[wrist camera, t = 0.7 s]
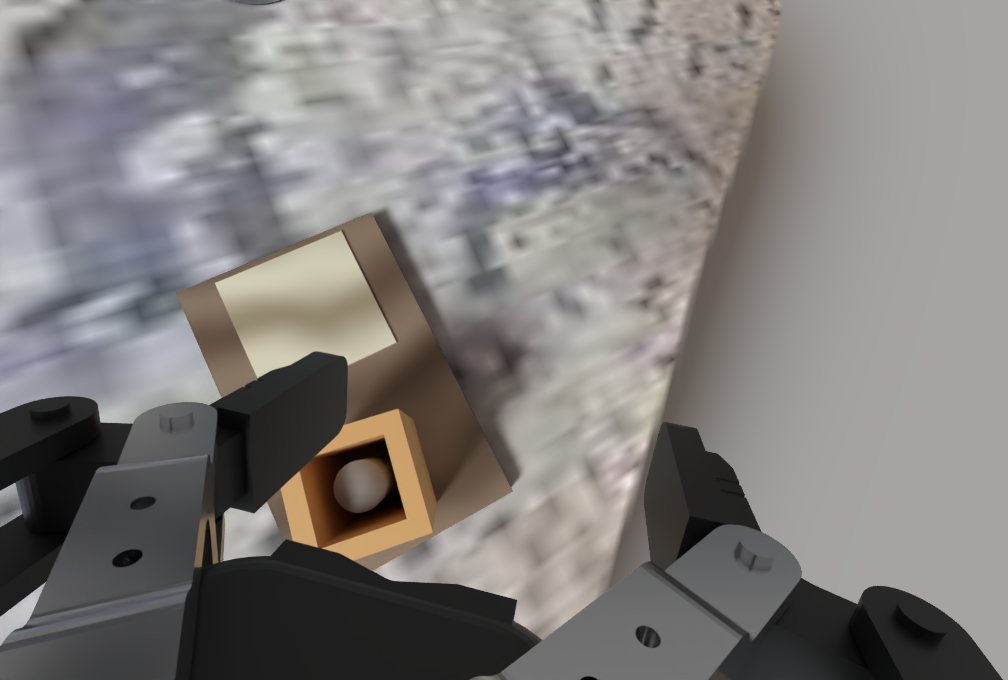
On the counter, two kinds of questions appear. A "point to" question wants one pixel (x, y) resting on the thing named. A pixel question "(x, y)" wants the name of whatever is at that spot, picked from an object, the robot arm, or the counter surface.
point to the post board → (351, 364)
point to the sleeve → (376, 529)
